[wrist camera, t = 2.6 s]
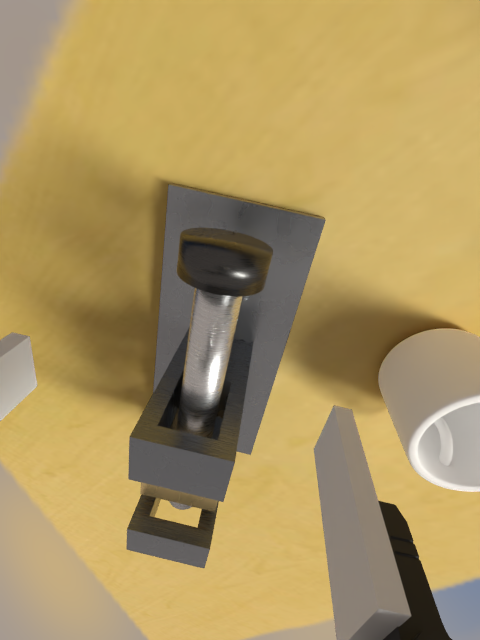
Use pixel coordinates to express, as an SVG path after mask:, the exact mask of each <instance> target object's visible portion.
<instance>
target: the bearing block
mask: <svg viewBox="0 0 480 640" xmlns="http://www.w3.org/2000/svg"><path fill="white" fill-rule="evenodd" d="M324 223H325V218H324V217H320V216H315V215H311V214H306V213H302V212H298V211H293V210H289V209H284V208H280V207H275V206H271V205H266V204H262V203H257V202H253V201H249V200H244V199H240V198H235V197H231V196H226V195H222V194H217V193H213V192H209V191H204V190H200V189H195V188H191V187H186V186H182V185H177V184H169V186H168V199H167V213H166V226H165V240H164V253H163V267H162V280H161V294H160V308H159V321H158V335H157V348H156V362H155V375H154V389H153V395H152V397H151V399H150V400H149V402H148V404H147V406H146V408H145V410H144V411H143V413H142V415H141V417H140V419H139V421H138V422H137V424H136V426H135V428H134V430H133V432H132V434H131V435H130V443H129V479H130V480H134V481H138V482H142V483H146V484H151V485H155V486H159V487H163V488H167V489H171V490H176V491H180V492H184V493H188V494H192V495H196V496H200V497H205V498H209V499H213V500H217V501H218V502H219V501H221V502H223V501H224V498H225V494H226V491H227V487H228V484H229V480H230V477H231V473H232V470H233V466H234V463H235V457H236V451H237V452H241V453H245V454H250V455H251V452H252V449H253V445H254V442H255V439H256V436H257V433H258V430H259V427H260V424H261V420H262V417H263V414H264V411H265V408H266V405H267V402H268V399H269V395H270V392H271V389H272V386H273V383H274V380H275V377H276V373H277V370H278V367H279V364H280V361H281V358H282V355H283V352H284V348H285V345H286V342H287V339H288V336H289V333H290V330H291V327H292V323H293V320H294V317H295V314H296V311H297V308H298V305H299V302H300V298H301V295H302V292H303V289H304V286H305V283H306V280H307V276H308V273H309V270H310V267H311V264H312V261H313V258H314V255H315V251H316V248H317V245H318V242H319V239H320V236H321V233H322V230H323V226H324ZM190 228H216V229H224V230H229V231H234V232H238V233H242V234H245V235H248V236H251V237H254V238H256V239H259V240H261V241H263V242H265V243H266V244H268V245H269V246H270V247H271V248H272V249H273V255H272V259H271V263H270V267H269V271H268V275H267V279H266V283H265V287H264V289H263V290H262V291H261V292H259V293H257V294H254V295H250V296H243V297H242V301H241V306H240V310H239V315H238V320H237V324H236V329H235V333H234V338H233V343H232V347H231V352H230V357H229V361H228V366H227V370H226V375H225V380H224V384H223V389H222V393H221V398H220V403H219V407H218V412H217V416H216V421H215V426H214V430H213V435H212V439H211V438H207V437H203V436H198V435H194V434H190V433H186V432H182V431H177V430H173V429H170V426H171V424H172V422H173V419H174V417H175V414H176V412H177V409H178V408H179V404H180V397H181V389H182V381H183V374H184V366H185V359H186V351H187V344H188V336H189V328H190V321H191V313H192V306H193V298H194V291H195V288H194V287H192V286H190V285H188V284H187V283H185V282H184V281H182V280H181V279H180V278H179V276H178V274H177V263H178V252H179V242H180V234H181V232H182V231H184V230H186V229H190ZM160 500H161V499H159V498H155V497H151V496H147V495H143V494H142V495H141V497H140V500H139V502H138V504H137V507H136V509H135V512H134V514H133V516H132V519H131V521H130V524H129V526H128V528H127V550H131V551H135V552H139V553H143V554H147V555H151V556H155V557H159V558H163V559H168V560H172V561H176V562H180V563H184V564H188V565H192V566H196V567H200V568H205V564H206V561H207V557H208V554H209V550H210V545H211V540H212V534H213V529H214V524H215V518H216V513H217V508H218V503H217V506H216V510H215V512H213V511H209V510H205V509H202V511H201V515H200V520H199V524H198V528H196V527H192V526H188V525H184V524H180V523H176V522H171V521H167V520H163V519H159V518H155V514H156V511H157V508H158V506H159V503H160Z"/></svg>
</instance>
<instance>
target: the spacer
mask: <svg viewBox="0 0 480 640" xmlns="http://www.w3.org/2000/svg"><path fill="white" fill-rule="evenodd" d="M178 412H179V408H178V409H177V412H176V414H175V417H174V419H173V422H172V424H171V426H170V429H173V430H176V427H177V419H178ZM141 494H143V495H147V496H151V497H155V498H159V499H164V500H168V501H172V502H176V503H180V504H184V505H188V506H193V507H197V508H201V509H205V510H209V511H213V512H215V510H216V506H217V503H218V501H217V500H213V499H209V498H205V497H200V496H196V495H192V494H188V493H184V492H180V491H176V490H171V489H167V488H163V487H159V486H155V485H151V484H146V483H142V482H141Z"/></svg>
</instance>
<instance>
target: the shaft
mask: <svg viewBox="0 0 480 640" xmlns="http://www.w3.org/2000/svg"><path fill="white" fill-rule="evenodd" d="M272 255H273V249H272V248H271V247H270V246H269V245H268V244H266V243H265V242H263V241H261V240H259V239H256V238H254V237H251V236H248V235H245V234H242V233H238V232H234V231H229V230H224V229H216V228H190V229H186V230H184V231H182V232H181V234H180V242H179V252H178V263H177V274H178V276H179V278H180V279H181V280H182V281H184V282H185V283H187V284H188V285H190V286H192V287H194V288H195V291H194V298H193V306H192V313H191V321H190V328H189V336H188V344H187V351H186V359H185V366H184V374H183V381H182V389H181V397H180V404H179V412H178V419H177V427H176V430H177V431H182V432H186V433H190V434H194V435H198V436H203V437H207V438H211V439H212V435H213V430H214V426H215V421H216V416H217V412H218V407H219V403H220V398H221V393H222V389H223V384H224V380H225V375H226V370H227V366H228V361H229V357H230V352H231V347H232V343H233V338H234V333H235V329H236V324H237V320H238V315H239V310H240V306H241V301H242V297H243V296H250V295H254V294H257V293H259V292H261V291H262V290H263V289H264V287H265V283H266V279H267V275H268V271H269V267H270V263H271V259H272ZM169 502H170V503H171V505H172V506H173V507H175V508H177V509H181V510H184V509H189V508H191V507H192V506H188V505H184V504H180V503H176V502H172V501H169Z"/></svg>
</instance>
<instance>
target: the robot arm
mask: <svg viewBox="0 0 480 640" xmlns="http://www.w3.org/2000/svg"><path fill="white" fill-rule="evenodd" d="M36 387H37V380H36V374H35V368H34V361H33V355H32V349H31V342H30V336H26V335H21V334H17V333H10V334H9V335H7V336H6V337H4V338H3V339H1V340H0V421H1V420H2V419H3V418H4V417H5V416H6V415H7V414H8V413H9V412H10V411H11V410H13V409H14V408H15V407H16V406H17V405H18V404H19V403H20V402H21V401H22V400H23V399H24V398H25V397H26V396H27V395H28V394H29V393H30V392H32V391H33V390H34V389H35V388H36ZM314 454H315V463H316V471H317V479H318V487H319V496H320V504H321V512H322V521H323V529H324V537H325V546H326V554H327V562H328V571H329V579H330V587H331V596H332V604H333V612H334V621H335V629H336V637H337V640H452V639H451V638H450V637H449V636H448V634H447V632H446V630H445V628H444V626H443V623H442V621H441V618H440V615H439V612H438V610H437V607H436V604H435V601H434V598H433V595H432V592H431V590H430V587H429V584H428V581H427V578H426V575H425V572H424V570H423V567H422V564H421V561H420V560H419V555H418V553H417V550H416V547H415V545H414V544H413V538H412V535H411V533H410V530H409V527H408V524H407V522H406V520H405V519H404V517H403V516H402V514H401V513H400V511H399V510H398V508H397V507H396V505H394V504H390V503H385V502H381V501H378V499H377V495H376V492H375V488H374V485H373V481H372V478H371V474H370V471H369V467H368V464H367V461H366V457H365V454H364V450H363V447H362V443H361V440H360V436H359V433H358V429H357V426H356V422H355V419H354V416H353V412H352V409H347V408H343V407H338V406H333V408H332V411H331V413H330V415H329V417H328V419H327V422H326V424H325V426H324V428H323V430H322V432H321V435H320V437H319V439H318V441H317V443H316V445H315V448H314Z"/></svg>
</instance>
